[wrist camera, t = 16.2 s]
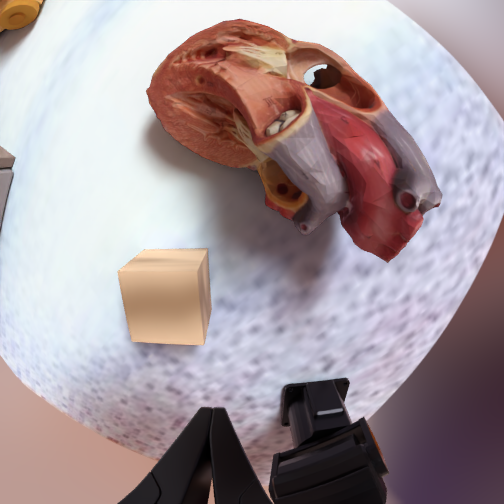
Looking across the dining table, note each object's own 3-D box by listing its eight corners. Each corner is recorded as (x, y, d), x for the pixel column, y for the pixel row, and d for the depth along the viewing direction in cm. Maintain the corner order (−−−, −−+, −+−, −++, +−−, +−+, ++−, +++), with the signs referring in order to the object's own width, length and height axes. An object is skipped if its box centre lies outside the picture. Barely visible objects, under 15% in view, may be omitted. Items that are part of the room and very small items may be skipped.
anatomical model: (172, -2, 10) (311, 25, 3) (334, 52, 17) (489, 173, 9) (134, 139, 17) (172, 342, 10) (280, 152, 24) (373, 290, 17)
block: (211, 309, 21) (204, 345, 16) (152, 308, 21) (131, 341, 16) (207, 248, 20) (197, 271, 15) (144, 249, 20) (117, 271, 15)
